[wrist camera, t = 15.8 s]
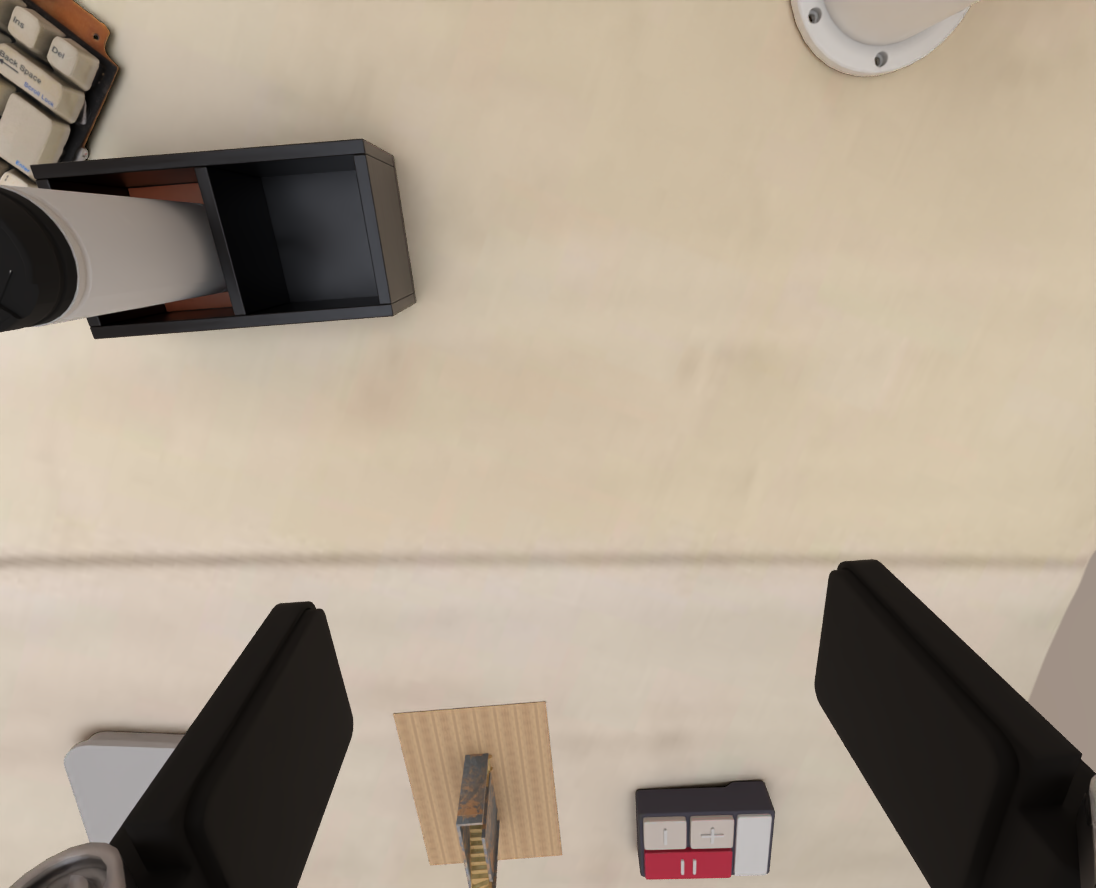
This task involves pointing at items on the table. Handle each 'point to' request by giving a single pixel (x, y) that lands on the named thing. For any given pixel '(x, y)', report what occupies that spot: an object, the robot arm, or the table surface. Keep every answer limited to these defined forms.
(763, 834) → the calculator
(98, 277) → the travel mug
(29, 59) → the mechanical keyboard
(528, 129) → the table surface
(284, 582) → the table surface
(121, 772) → the grey flat block
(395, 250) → the caddy
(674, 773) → the table surface
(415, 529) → the table surface
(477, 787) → the architectural model on board
